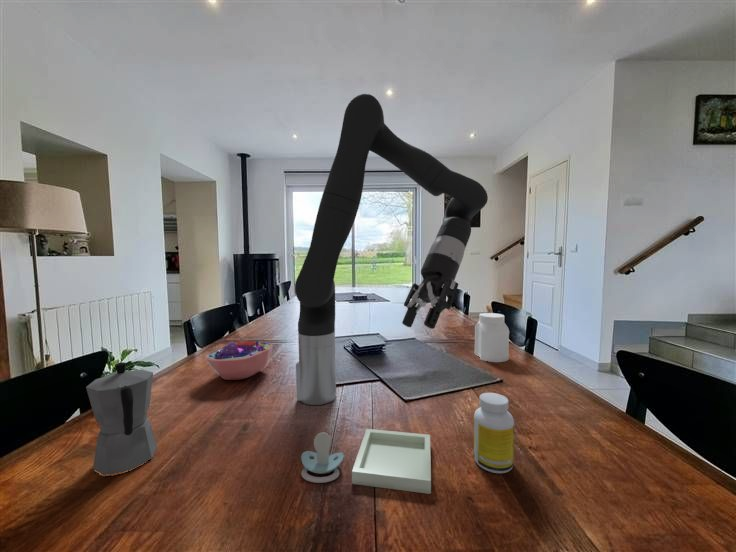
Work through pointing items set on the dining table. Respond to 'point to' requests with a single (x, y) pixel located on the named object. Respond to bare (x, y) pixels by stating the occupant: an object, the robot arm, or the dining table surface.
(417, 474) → the dish
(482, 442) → the pill bottle
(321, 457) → the pacifier
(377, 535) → the dining table surface
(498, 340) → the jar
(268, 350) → the cell model
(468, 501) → the dining table surface
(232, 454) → the dining table surface
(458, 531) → the dining table surface
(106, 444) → the coffeepot
